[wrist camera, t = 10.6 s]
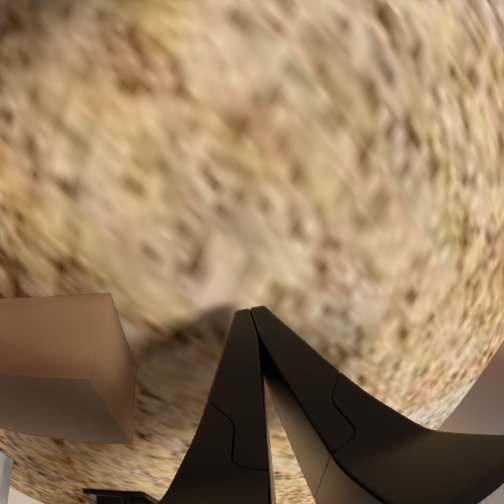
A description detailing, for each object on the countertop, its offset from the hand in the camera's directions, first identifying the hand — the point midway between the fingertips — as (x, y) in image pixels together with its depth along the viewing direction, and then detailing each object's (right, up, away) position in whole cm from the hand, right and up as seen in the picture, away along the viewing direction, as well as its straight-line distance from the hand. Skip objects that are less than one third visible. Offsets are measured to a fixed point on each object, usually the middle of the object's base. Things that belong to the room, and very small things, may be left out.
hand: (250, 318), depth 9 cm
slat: (-11, -1, 0) cm, 11 cm away
